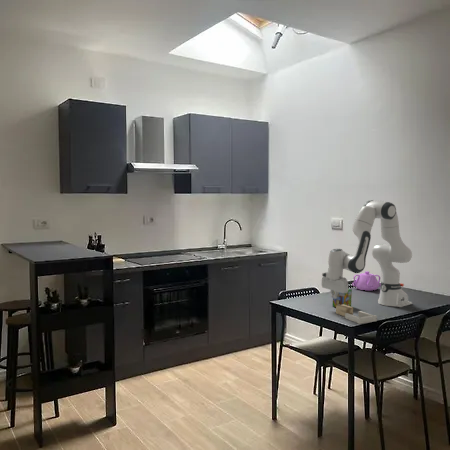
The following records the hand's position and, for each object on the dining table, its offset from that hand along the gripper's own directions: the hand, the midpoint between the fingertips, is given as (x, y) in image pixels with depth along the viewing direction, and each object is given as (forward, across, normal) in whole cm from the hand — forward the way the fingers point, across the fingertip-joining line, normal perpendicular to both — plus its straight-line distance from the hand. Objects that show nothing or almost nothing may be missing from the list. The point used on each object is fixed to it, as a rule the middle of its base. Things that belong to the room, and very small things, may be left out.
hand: (334, 297), depth 281 cm
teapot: (+7, +37, -67) cm, 77 cm away
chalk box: (+8, +6, -13) cm, 16 cm away
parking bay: (+8, -22, 0) cm, 23 cm away
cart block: (+8, -9, -1) cm, 12 cm away
